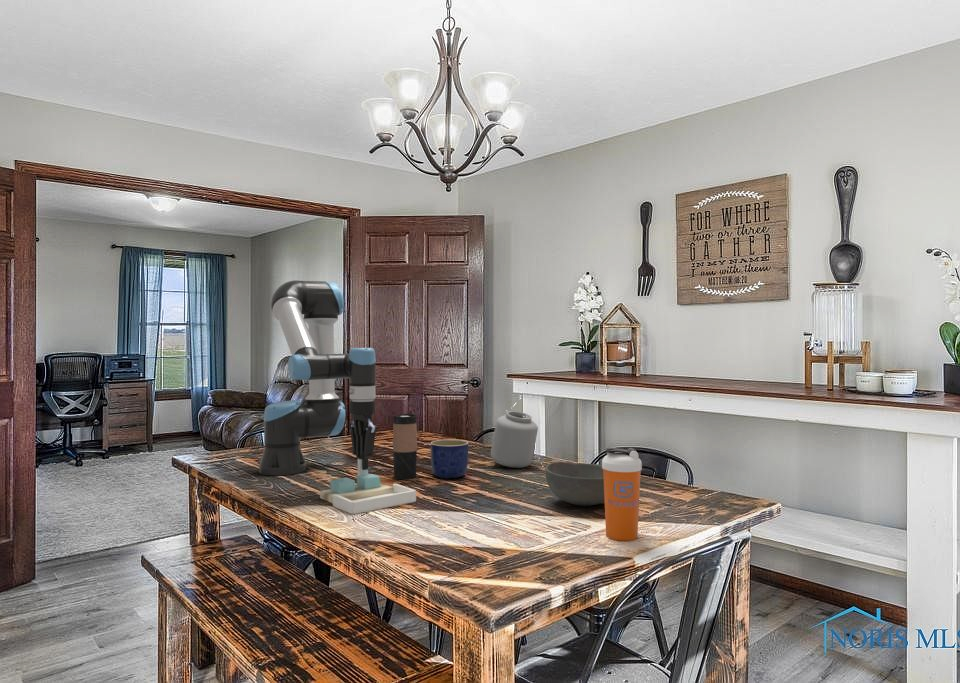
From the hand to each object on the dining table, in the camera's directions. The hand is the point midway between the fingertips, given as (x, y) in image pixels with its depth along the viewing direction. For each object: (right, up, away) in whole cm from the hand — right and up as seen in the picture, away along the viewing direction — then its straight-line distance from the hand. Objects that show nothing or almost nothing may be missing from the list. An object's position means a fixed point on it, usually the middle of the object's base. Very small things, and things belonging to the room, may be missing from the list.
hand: (362, 480), depth 188 cm
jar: (+47, -3, +36) cm, 59 cm away
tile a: (+2, -1, -2) cm, 3 cm away
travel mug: (+10, -3, +19) cm, 22 cm away
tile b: (-4, -1, -7) cm, 8 cm away
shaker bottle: (+67, -4, -41) cm, 79 cm away
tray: (+6, -4, -13) cm, 15 cm away
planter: (+24, -3, +21) cm, 32 cm away
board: (-1, -3, -5) cm, 6 cm away
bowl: (+62, -4, -14) cm, 64 cm away
